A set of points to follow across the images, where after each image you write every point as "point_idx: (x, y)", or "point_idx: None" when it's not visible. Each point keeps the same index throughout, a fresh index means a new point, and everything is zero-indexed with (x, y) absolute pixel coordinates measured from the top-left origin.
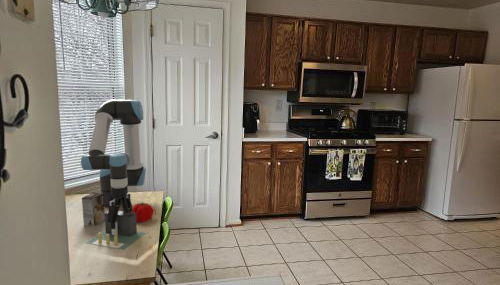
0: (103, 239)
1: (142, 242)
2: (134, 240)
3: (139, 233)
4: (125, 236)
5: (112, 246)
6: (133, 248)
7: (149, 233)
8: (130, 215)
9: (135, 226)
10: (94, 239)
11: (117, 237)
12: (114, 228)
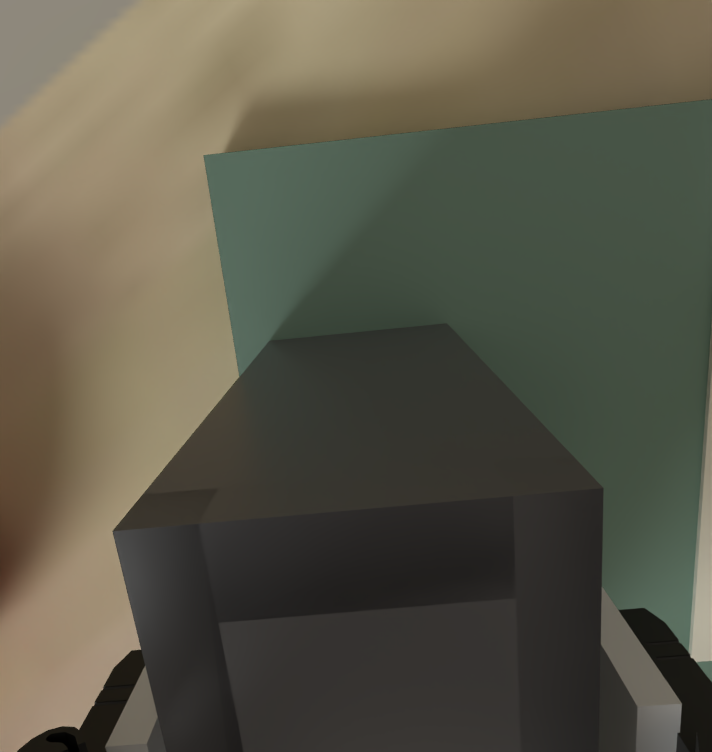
0: (667, 606)
1: (451, 58)
2: (550, 151)
3: (284, 264)
4: None
5: None
6: (686, 52)
7: (128, 181)
8: (463, 551)
9: (280, 367)
10: None
11: None
12: (634, 616)
